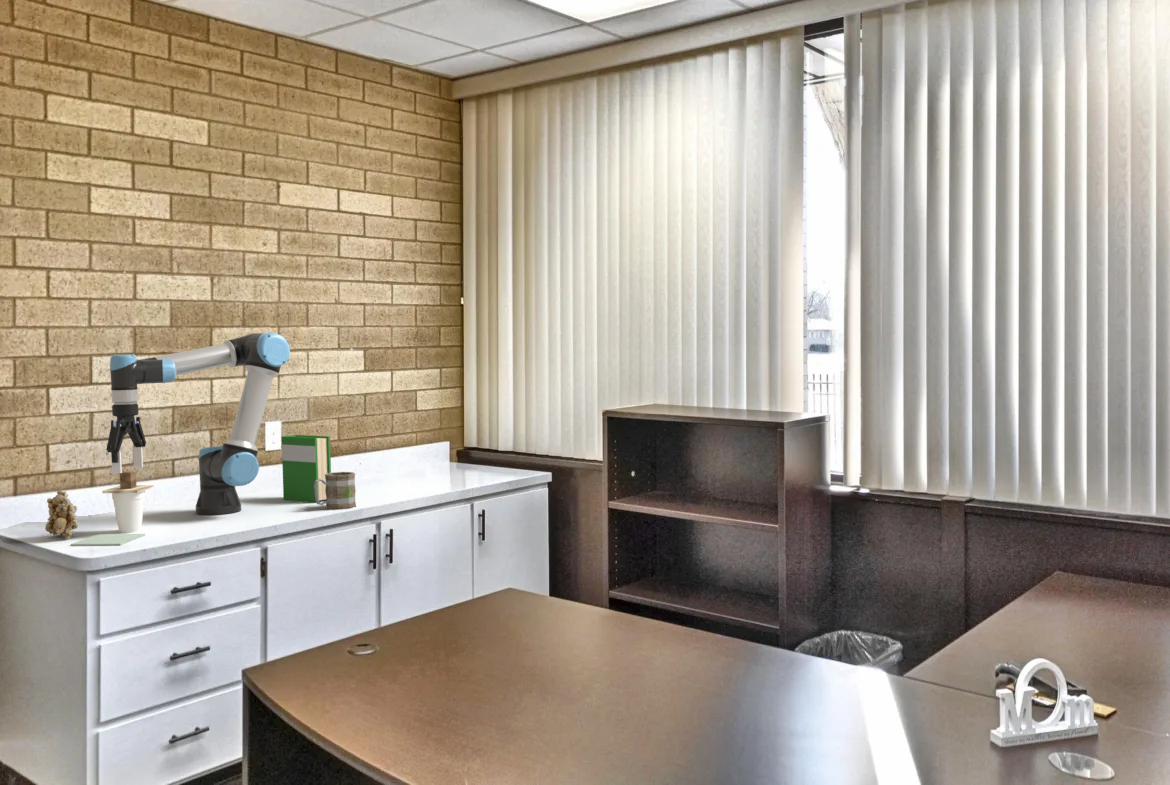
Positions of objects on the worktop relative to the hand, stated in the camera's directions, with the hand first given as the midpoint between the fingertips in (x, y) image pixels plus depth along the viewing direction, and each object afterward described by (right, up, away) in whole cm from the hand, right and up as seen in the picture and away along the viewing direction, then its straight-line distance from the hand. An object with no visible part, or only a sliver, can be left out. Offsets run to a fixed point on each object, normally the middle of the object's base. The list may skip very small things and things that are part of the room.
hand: (128, 470), depth 312 cm
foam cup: (0, -20, +1) cm, 20 cm away
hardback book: (+41, -16, +58) cm, 73 cm away
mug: (+56, -17, +39) cm, 70 cm away
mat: (+1, -20, -14) cm, 25 cm away
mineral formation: (-16, -20, -8) cm, 27 cm away
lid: (0, -6, 0) cm, 6 cm away
